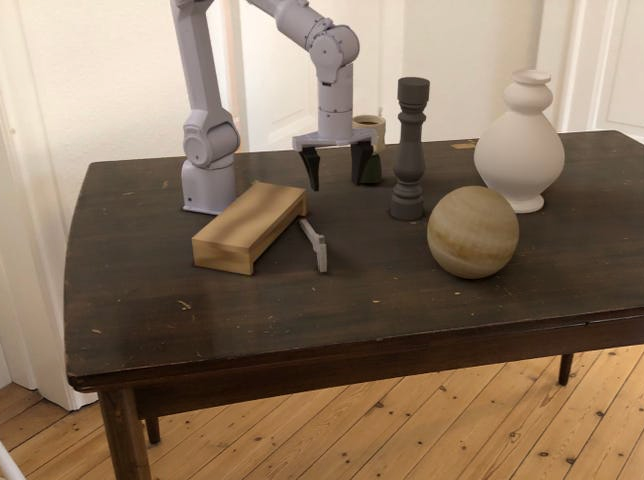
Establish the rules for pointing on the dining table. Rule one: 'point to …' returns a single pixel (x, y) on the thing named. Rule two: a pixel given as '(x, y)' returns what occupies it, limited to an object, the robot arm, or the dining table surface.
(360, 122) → the character mug
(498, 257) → the decorative ball
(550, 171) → the decorative vase
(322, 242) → the caliper
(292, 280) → the dining table surface
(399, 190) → the candle holder
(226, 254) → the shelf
